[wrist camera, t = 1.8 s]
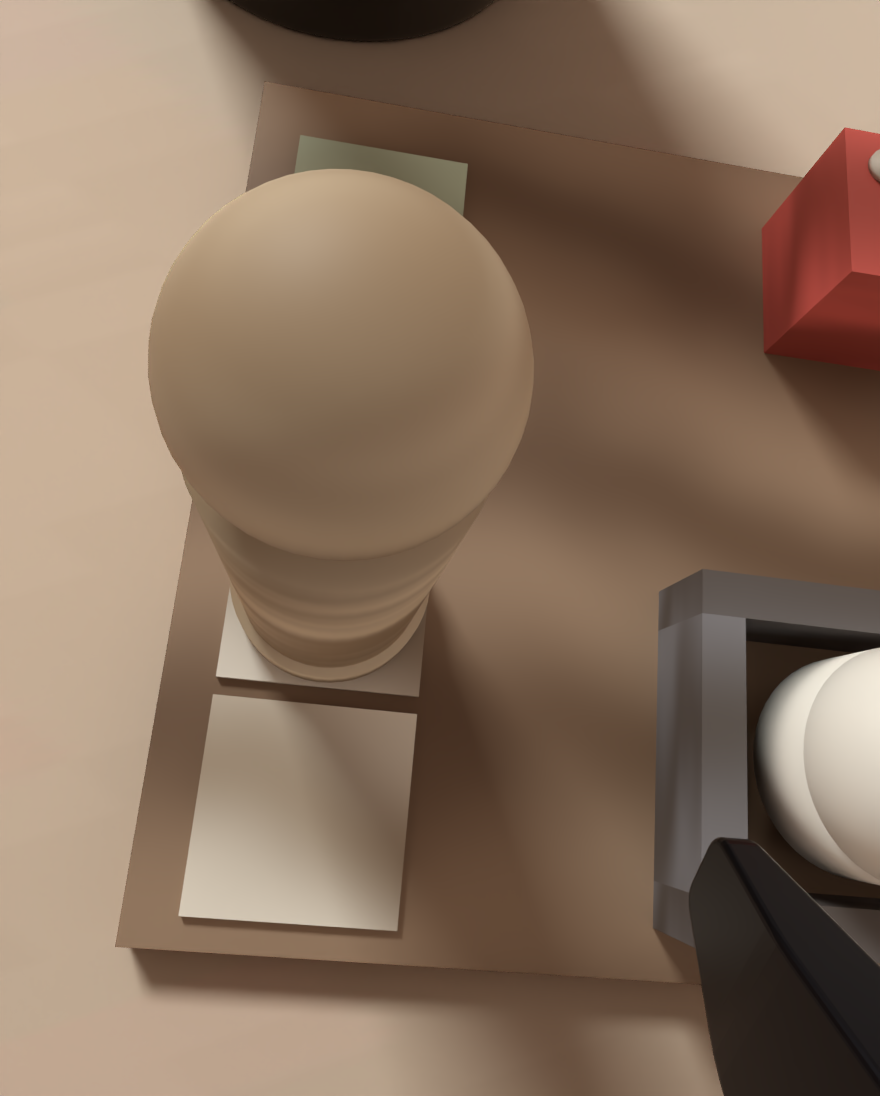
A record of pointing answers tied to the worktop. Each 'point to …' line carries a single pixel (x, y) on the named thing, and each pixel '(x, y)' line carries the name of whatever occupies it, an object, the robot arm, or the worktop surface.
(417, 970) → the worktop surface
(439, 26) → the jar
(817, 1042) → the robot arm
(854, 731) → the dome
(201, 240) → the pawn
